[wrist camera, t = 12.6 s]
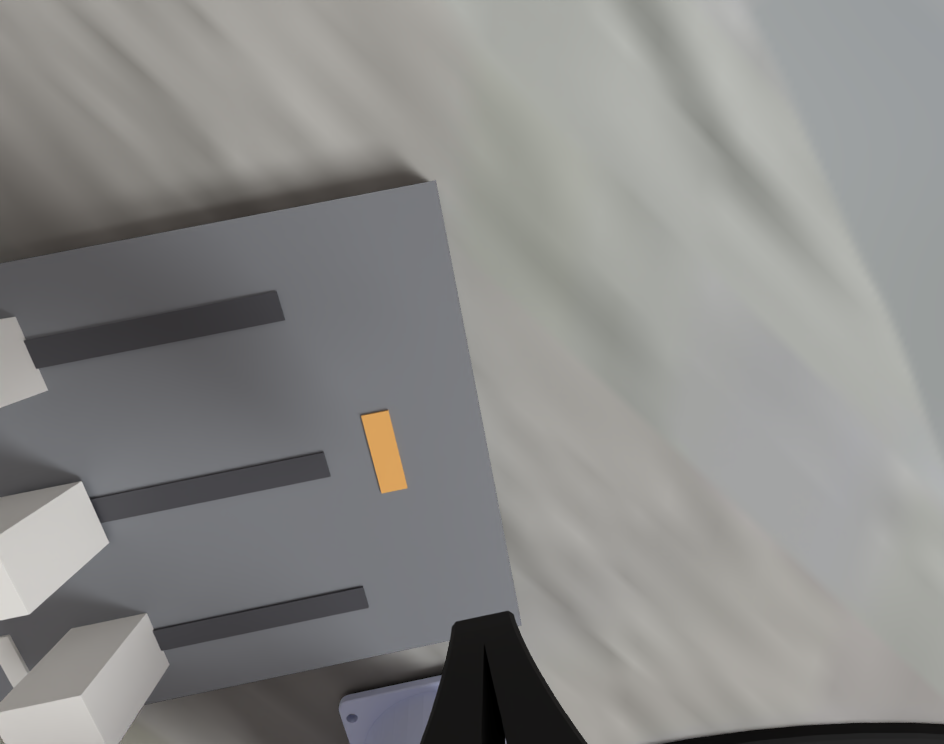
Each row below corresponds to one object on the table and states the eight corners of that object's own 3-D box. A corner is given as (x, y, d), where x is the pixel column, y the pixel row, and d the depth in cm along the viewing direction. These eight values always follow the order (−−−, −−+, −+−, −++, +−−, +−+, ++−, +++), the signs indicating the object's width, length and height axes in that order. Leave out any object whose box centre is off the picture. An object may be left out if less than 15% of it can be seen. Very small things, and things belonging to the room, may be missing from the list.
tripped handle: (109, 543, 18) (29, 614, 14) (28, 559, 18) (-72, 635, 14) (81, 480, 17) (-9, 540, 14) (-2, 497, 17) (-115, 561, 14)
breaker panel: (516, 600, 22) (538, 703, 17) (-11, 710, 21) (-146, 850, 16) (435, 186, 17) (435, 160, 12) (-242, 315, 17) (-531, 343, 12)
